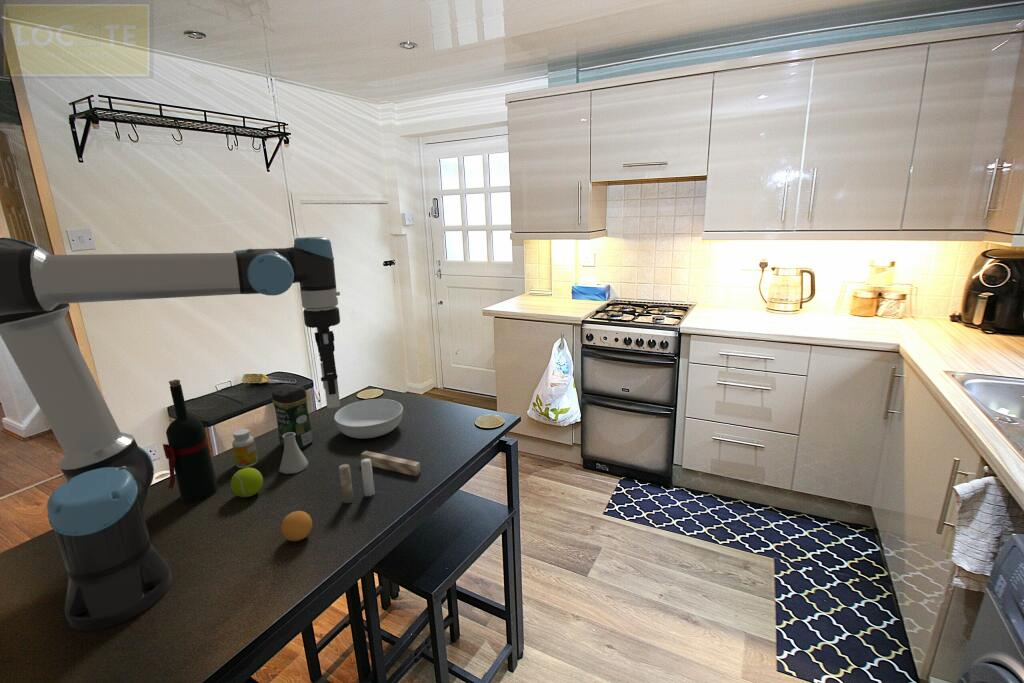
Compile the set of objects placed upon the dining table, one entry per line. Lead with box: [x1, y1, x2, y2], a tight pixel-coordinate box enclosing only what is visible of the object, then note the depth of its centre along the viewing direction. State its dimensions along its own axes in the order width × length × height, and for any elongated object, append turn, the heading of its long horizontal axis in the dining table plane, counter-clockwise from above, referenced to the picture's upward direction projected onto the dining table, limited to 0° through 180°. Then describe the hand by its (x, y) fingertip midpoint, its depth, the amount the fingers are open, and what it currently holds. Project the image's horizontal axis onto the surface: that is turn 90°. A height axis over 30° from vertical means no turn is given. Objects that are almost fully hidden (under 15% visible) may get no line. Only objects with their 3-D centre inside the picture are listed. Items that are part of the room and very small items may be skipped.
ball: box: [280, 510, 313, 542], centre depth 102 cm, size 6×6×6 cm
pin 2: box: [360, 459, 376, 497], centre depth 117 cm, size 2×2×9 cm
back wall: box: [360, 450, 421, 477], centre depth 130 cm, size 18×2×3 cm, turn 66°
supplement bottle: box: [231, 428, 259, 469], centre depth 134 cm, size 5×5×10 cm
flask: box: [278, 432, 310, 475], centre depth 131 cm, size 7×7×10 cm
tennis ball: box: [230, 467, 264, 498], centre depth 119 cm, size 7×7×7 cm
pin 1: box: [338, 463, 355, 504], centre depth 115 cm, size 2×2×9 cm
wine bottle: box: [162, 379, 219, 504], centre depth 116 cm, size 8×10×30 cm
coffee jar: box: [271, 382, 314, 449], centre depth 144 cm, size 10×8×19 cm
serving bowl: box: [333, 398, 404, 439], centre depth 152 cm, size 21×21×7 cm
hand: (331, 396), depth 113 cm, fingers open, 13 cm apart
